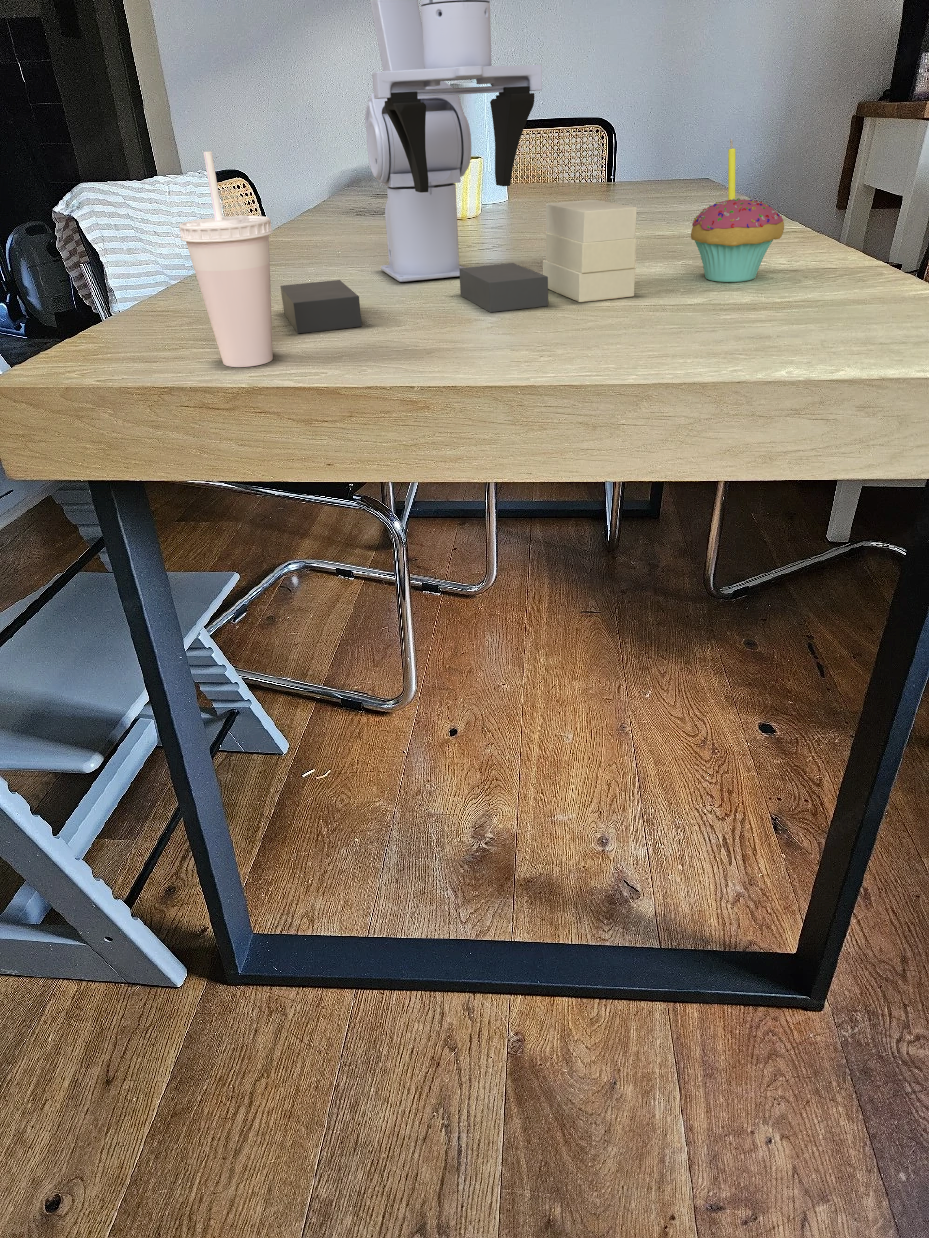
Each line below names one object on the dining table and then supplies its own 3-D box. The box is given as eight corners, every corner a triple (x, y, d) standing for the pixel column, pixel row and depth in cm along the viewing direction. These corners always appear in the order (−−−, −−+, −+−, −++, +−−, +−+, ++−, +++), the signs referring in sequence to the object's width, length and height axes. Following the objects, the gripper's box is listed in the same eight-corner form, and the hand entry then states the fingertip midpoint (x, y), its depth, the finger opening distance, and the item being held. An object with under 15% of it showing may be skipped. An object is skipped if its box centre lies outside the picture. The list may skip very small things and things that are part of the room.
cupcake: (669, 277, 89) (678, 141, 83) (737, 267, 92) (751, 136, 86) (725, 289, 82) (739, 143, 76) (796, 279, 85) (815, 137, 79)
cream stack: (542, 287, 88) (542, 232, 85) (593, 281, 89) (595, 227, 86) (579, 303, 80) (581, 243, 77) (635, 296, 81) (638, 238, 79)
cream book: (545, 232, 85) (545, 203, 84) (593, 227, 86) (594, 199, 85) (583, 243, 78) (584, 211, 76) (635, 238, 79) (637, 207, 77)
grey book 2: (460, 295, 86) (459, 268, 84) (514, 290, 87) (513, 262, 86) (490, 312, 78) (489, 282, 77) (548, 306, 79) (548, 276, 78)
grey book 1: (284, 314, 82) (280, 285, 80) (343, 307, 83) (339, 279, 82) (297, 333, 74) (293, 302, 73) (362, 326, 75) (358, 295, 74)
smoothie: (186, 367, 66) (143, 155, 59) (243, 347, 71) (209, 149, 63) (253, 375, 63) (217, 153, 56) (308, 353, 68) (280, 147, 61)
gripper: (379, 2, 68) (394, 197, 75) (555, -2, 71) (554, 185, 78) (361, 11, 74) (377, 192, 80) (525, 7, 77) (526, 181, 84)
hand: (462, 188), depth 80 cm, fingers open, 7 cm apart
